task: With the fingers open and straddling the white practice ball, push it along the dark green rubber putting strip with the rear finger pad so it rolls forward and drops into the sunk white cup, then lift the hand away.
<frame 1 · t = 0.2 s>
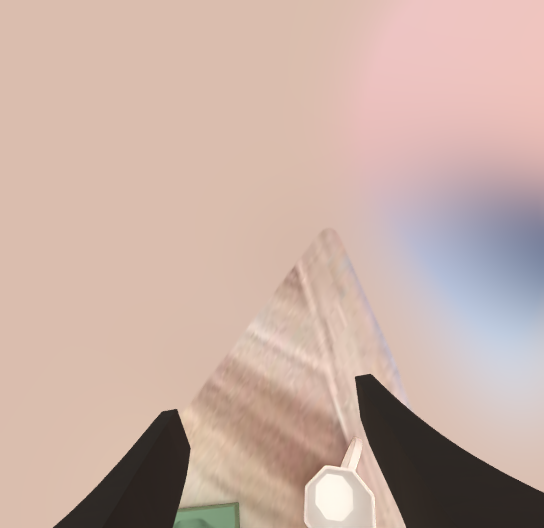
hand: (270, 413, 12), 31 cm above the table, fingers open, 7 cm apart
cup: (338, 481, 36), on the table
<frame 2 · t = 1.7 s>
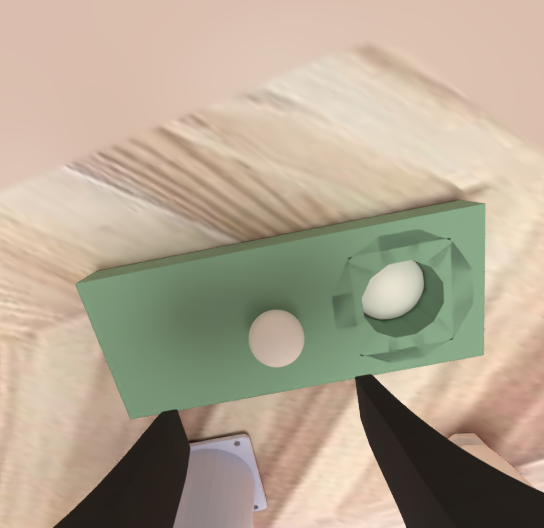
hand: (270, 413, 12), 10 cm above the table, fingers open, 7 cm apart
ball: (276, 337, 17), point 4 cm above the table, touching putting strip
cup: (473, 455, 26), on the table
putting strip: (288, 305, 21), on the table
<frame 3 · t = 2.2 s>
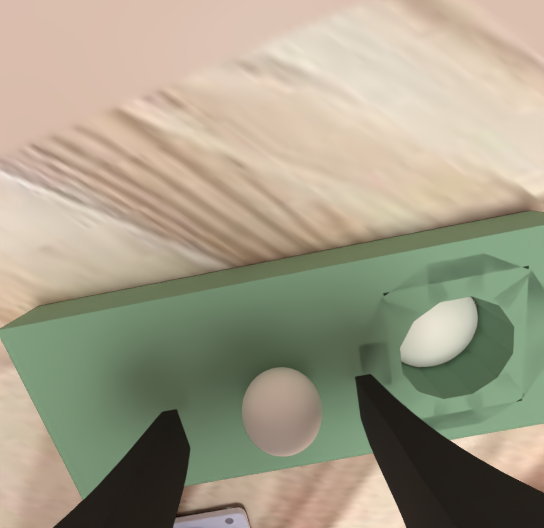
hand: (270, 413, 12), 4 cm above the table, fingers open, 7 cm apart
ball: (281, 409, 12), point 4 cm above the table, touching putting strip
putting strip: (296, 349, 16), on the table
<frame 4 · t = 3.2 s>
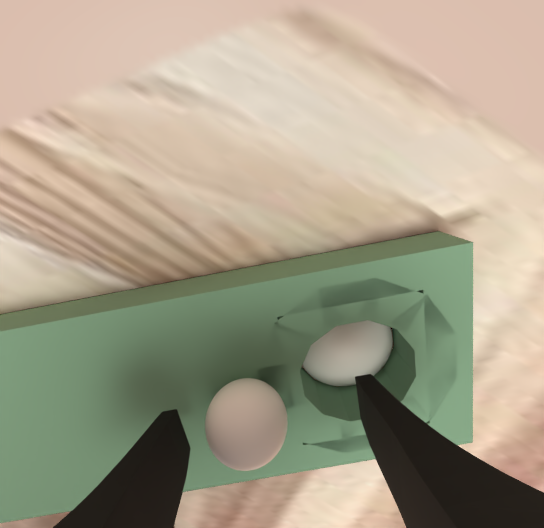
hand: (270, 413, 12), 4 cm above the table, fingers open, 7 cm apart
ball: (246, 421, 12), point 4 cm above the table, tilted 106°, touching putting strip
putting strip: (211, 368, 16), on the table
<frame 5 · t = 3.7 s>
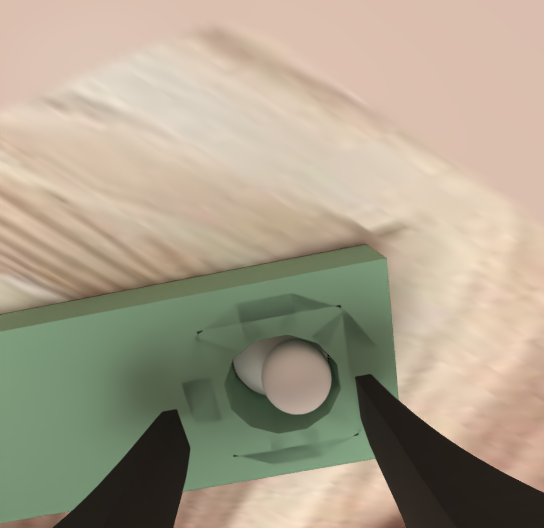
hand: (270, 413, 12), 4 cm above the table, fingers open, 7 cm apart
ball: (296, 375, 14), point 2 cm above the table, tilted 29°, touching putting strip
putting strip: (148, 379, 16), on the table
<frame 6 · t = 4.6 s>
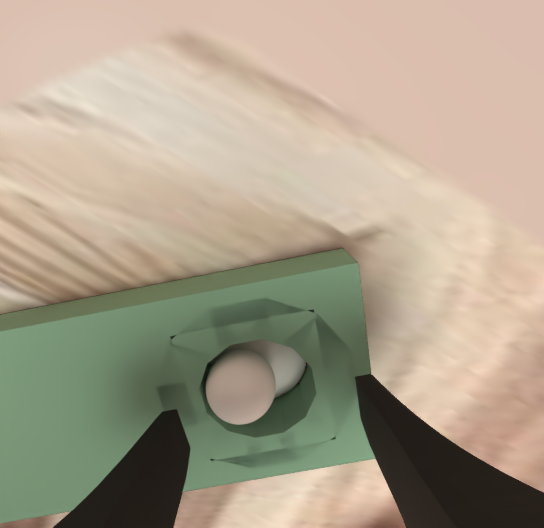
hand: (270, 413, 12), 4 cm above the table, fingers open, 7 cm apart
ball: (241, 385, 14), point 2 cm above the table, tilted 82°, touching putting strip
putting strip: (127, 383, 16), on the table
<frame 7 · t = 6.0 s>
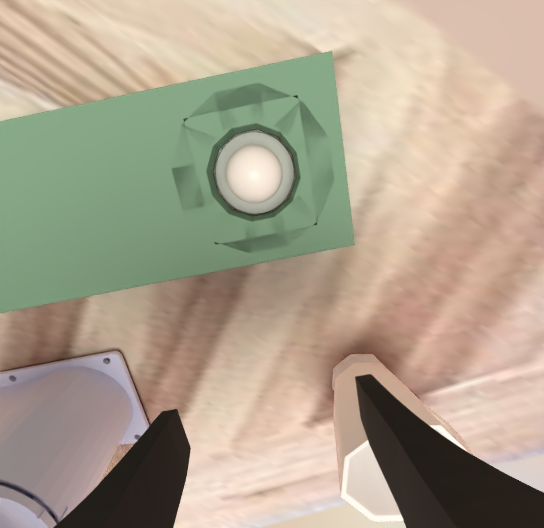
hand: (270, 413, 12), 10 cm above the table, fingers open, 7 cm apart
ball: (254, 174, 17), point 2 cm above the table, tilted 52°, touching putting strip
cup: (374, 381, 24), on the table
putting strip: (145, 196, 19), on the table
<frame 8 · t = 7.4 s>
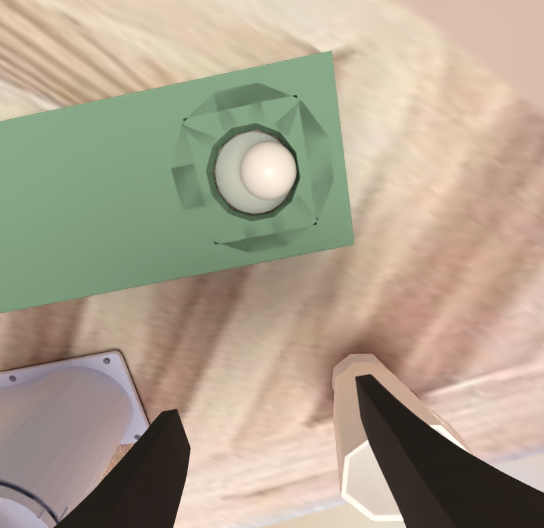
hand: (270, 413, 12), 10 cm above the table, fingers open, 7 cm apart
ball: (268, 171, 17), point 2 cm above the table, tilted 23°, touching putting strip
cup: (374, 381, 24), on the table
putting strip: (145, 196, 19), on the table
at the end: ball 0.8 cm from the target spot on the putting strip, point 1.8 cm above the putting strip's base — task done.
